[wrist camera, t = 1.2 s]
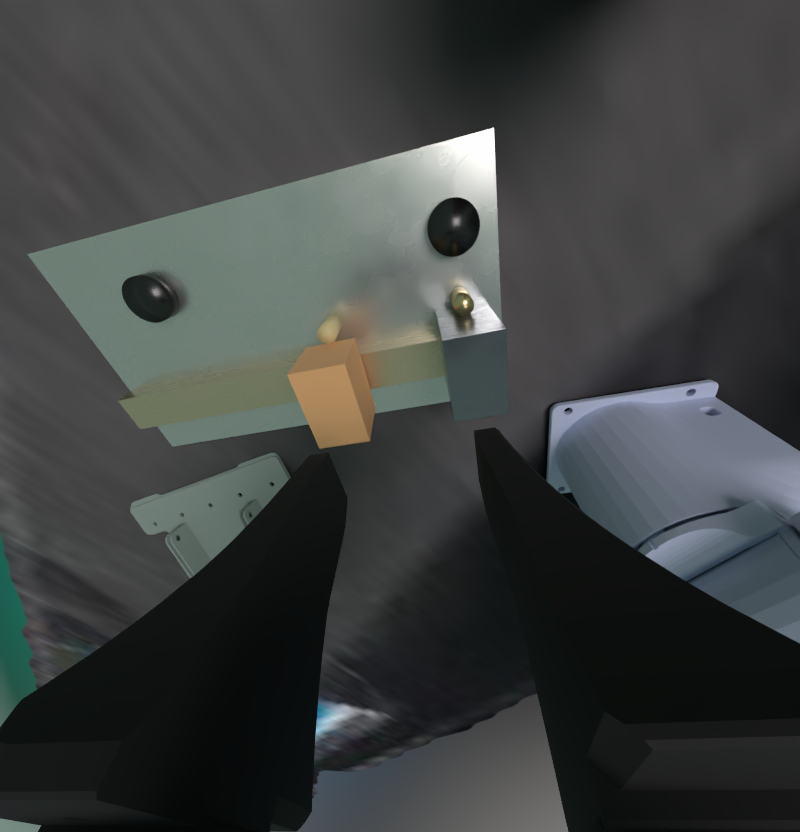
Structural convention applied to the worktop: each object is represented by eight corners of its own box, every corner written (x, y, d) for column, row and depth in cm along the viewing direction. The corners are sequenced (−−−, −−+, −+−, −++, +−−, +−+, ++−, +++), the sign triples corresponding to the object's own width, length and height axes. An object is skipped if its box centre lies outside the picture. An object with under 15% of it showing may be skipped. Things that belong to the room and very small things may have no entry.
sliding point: (354, 311, 16) (337, 343, 13) (377, 394, 19) (370, 441, 15) (307, 320, 17) (278, 354, 13) (336, 401, 19) (319, 448, 16)
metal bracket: (345, 609, 25) (197, 640, 29) (363, 555, 31) (237, 587, 34) (253, 448, 22) (99, 507, 25) (293, 420, 27) (161, 472, 31)
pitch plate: (487, 133, 14) (527, 98, 9) (499, 382, 20) (525, 436, 16) (50, 250, 17) (-87, 270, 12) (182, 435, 23) (126, 494, 18)
